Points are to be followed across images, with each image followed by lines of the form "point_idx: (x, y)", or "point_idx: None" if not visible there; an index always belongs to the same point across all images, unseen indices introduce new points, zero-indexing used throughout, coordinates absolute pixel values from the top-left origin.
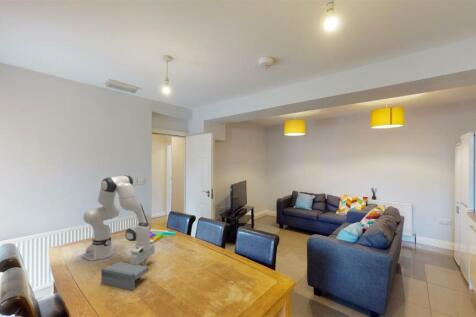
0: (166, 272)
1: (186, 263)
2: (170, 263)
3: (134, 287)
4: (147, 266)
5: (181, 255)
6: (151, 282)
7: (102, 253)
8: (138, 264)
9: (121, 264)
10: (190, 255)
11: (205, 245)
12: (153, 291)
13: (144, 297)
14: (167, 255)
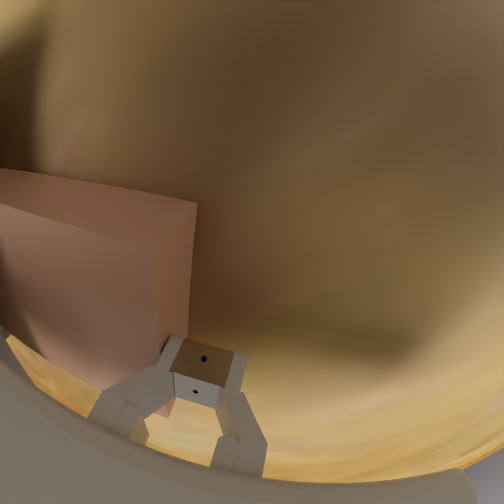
0: (205, 446)
1: (324, 478)
2: (339, 451)
3: (9, 333)
4: (159, 414)
5: (444, 447)
6: (85, 393)
7: None
8: (152, 310)
9: None
10: (420, 466)
11: (490, 452)
12: (58, 395)
13: (26, 370)
14: (497, 394)
